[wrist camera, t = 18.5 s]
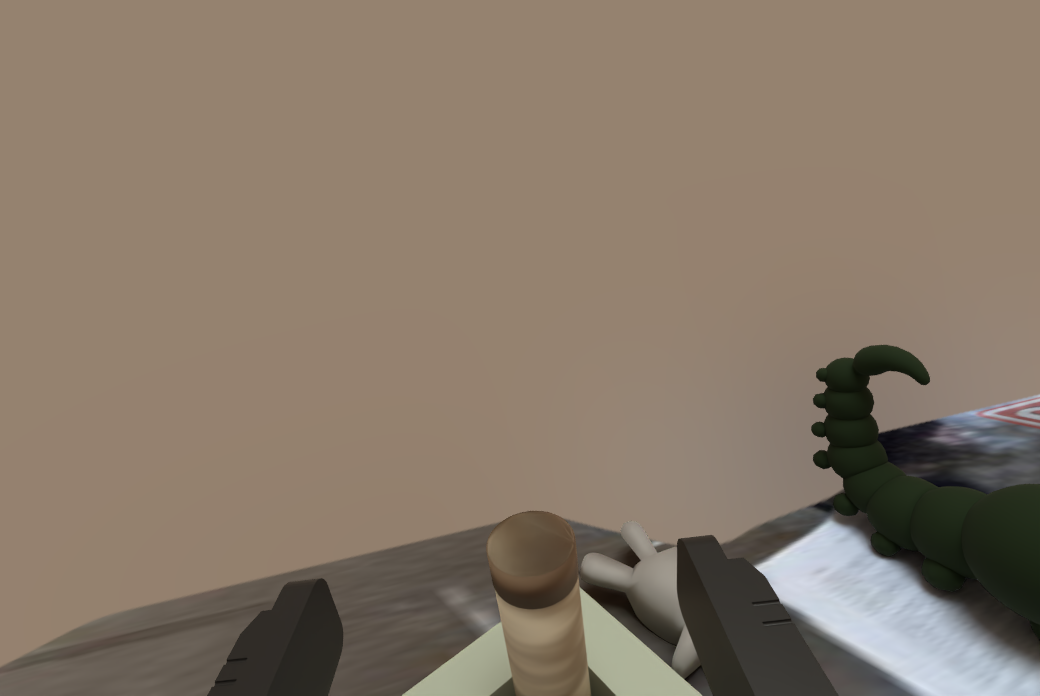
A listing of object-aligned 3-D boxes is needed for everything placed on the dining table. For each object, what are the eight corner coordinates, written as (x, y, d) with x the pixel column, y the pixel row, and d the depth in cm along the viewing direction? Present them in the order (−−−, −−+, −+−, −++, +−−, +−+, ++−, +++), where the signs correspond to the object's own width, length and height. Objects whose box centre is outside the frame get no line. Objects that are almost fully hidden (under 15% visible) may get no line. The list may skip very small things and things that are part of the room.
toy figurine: (789, 521, 49) (1180, 775, 26) (789, 345, 44) (1281, 468, 21) (857, 492, 52) (1266, 698, 29) (864, 322, 46) (1375, 408, 23)
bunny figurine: (746, 706, 29) (567, 553, 39) (733, 749, 31) (568, 594, 42) (812, 607, 34) (640, 495, 45) (797, 650, 36) (636, 535, 47)
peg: (559, 822, 28) (521, 595, 21) (514, 754, 31) (469, 540, 25) (613, 763, 30) (594, 542, 24) (566, 706, 34) (537, 499, 27)
